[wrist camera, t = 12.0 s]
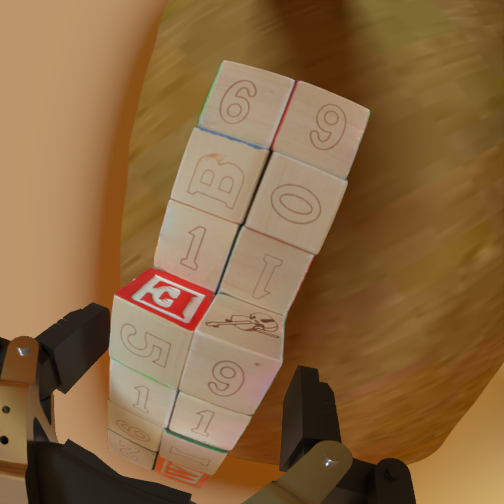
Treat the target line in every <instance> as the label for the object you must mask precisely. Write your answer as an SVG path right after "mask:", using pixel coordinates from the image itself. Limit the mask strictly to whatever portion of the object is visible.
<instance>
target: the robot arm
mask: <svg viewBox="0 0 504 504" xmlns="http://www.w3.org/2000/svg"><path fill="white" fill-rule="evenodd" d="M110 332H111V331H110V312H109V309H108V308H106V307H103V306H101V305H99V304H96V303H91V304H89V305H88V306H86V307H85V308H84V309H79V310H76V311H73V312H70V313H69V314H67V315H66V316H64V317H63V319H60V320H59V321H58V322H57V323H56V324H53V325H52V326H51V327H49V328H48V329H47V330H45V331H44V332H43V333H41V334H40V335H38V336H37V337H36V338H32V337H29V336H20V337H17V338H15V339H13V340H12V341H9V340H7V339H4V338H1V337H0V504H196V503H194V502H192V501H190V500H191V495H192V494H190V493H186V492H183V491H180V490H177V489H174V488H171V487H168V486H165V485H162V484H159V483H155V482H149V481H144V480H139V479H133V478H128V477H125V476H122V475H120V474H118V473H117V472H116V471H114V470H113V469H111V468H110V467H109V466H108V465H107V464H105V463H104V462H103V461H102V460H101V459H99V458H98V457H97V456H96V455H95V454H93V453H91V452H90V451H88V450H86V449H84V448H83V447H81V446H79V445H78V444H76V443H74V442H73V441H71V440H69V439H68V440H67V441H66V443H65V444H60V443H58V440H57V436H56V432H55V419H54V395H53V391H54V390H55V389H58V390H59V391H61V392H62V393H64V394H66V393H67V392H68V391H69V390H70V389H71V388H72V386H73V385H74V384H75V383H76V382H77V381H78V380H79V379H80V378H81V377H82V376H83V375H84V374H85V372H86V371H87V370H88V369H89V368H90V367H91V366H92V365H93V364H94V363H95V362H96V361H97V360H98V358H100V357H101V356H102V354H104V353H105V351H106V350H107V348H108V347H109V343H110ZM336 411H337V410H336V405H335V398H334V392H333V391H332V389H331V388H330V387H329V385H328V384H327V383H323V382H319V374H318V369H316V368H310V367H305V366H298V367H297V369H296V371H295V374H294V376H293V378H292V381H291V383H290V385H289V388H288V390H287V392H286V395H285V399H284V404H283V421H282V439H281V454H280V469H279V470H280V471H284V472H286V473H284V474H283V475H282V476H281V477H280V478H278V479H277V480H276V481H272V482H271V483H269V484H267V485H266V486H265V487H263V488H262V489H261V490H260V491H258V492H257V493H255V494H254V495H253V496H251V497H250V498H249V499H247V500H246V501H244V502H243V503H241V504H416V500H415V495H414V490H413V484H412V480H411V475H410V471H409V469H408V467H407V466H406V465H405V464H404V463H403V462H402V461H400V460H398V459H394V458H386V459H383V460H381V461H380V462H379V463H378V464H377V465H375V464H371V463H367V462H364V461H360V460H357V459H355V458H353V457H352V454H351V452H350V450H349V449H348V448H347V447H346V446H344V445H343V444H342V443H341V436H340V429H339V423H338V416H337V413H336Z"/></svg>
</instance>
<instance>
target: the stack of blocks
mask: <svg viewBox="0 0 504 504" xmlns="http://www.w3.org/2000/svg"><path fill="white" fill-rule="evenodd" d="M370 114H371V110H369V109H367V108H365V107H363V106H361V105H359V104H357V103H355V102H352V101H350V100H348V99H346V98H343V97H341V96H339V95H336V94H334V93H331V92H329V91H327V90H324V89H322V88H320V87H317V86H314V85H312V84H309V83H306V82H304V81H295V80H293V79H291V78H288V77H285V76H282V75H279V74H276V73H273V72H270V71H266V70H263V69H259V68H254V67H251V66H248V65H244V64H239V63H235V62H231V61H226V60H224V61H223V62H222V64H221V65H220V67H219V69H218V72H217V74H216V76H215V79H214V81H213V83H212V86H211V88H210V91H209V93H208V95H207V98H206V100H205V102H204V105H203V108H202V110H201V113H200V116H199V119H198V125H197V126H196V127H195V128H194V129H193V131H192V133H191V136H190V139H189V141H188V144H187V147H186V150H185V153H184V155H183V158H182V161H181V164H180V168H179V171H178V174H177V177H176V180H175V183H174V186H173V189H172V193H171V199H170V201H169V202H168V205H167V207H166V212H165V215H164V218H163V222H162V226H161V230H160V234H159V238H158V242H157V247H156V251H155V255H154V267H153V268H150V269H148V270H146V271H144V272H143V273H142V274H141V275H139V276H138V277H137V278H135V279H134V280H132V281H131V282H130V283H128V284H127V285H126V286H124V287H123V288H121V289H120V290H119V291H118V292H117V293H115V295H114V301H113V310H112V319H111V332H110V343H109V355H110V357H111V358H110V366H109V397H108V406H107V409H108V429H107V433H108V434H107V435H108V449H109V450H111V451H112V452H114V453H116V454H118V455H120V456H121V457H123V458H125V459H127V460H129V461H131V462H133V463H135V464H137V465H139V466H141V467H143V468H145V469H147V470H150V471H151V470H154V472H156V473H158V474H160V475H162V476H165V477H167V478H170V479H172V480H175V481H178V482H181V483H184V484H187V485H190V486H193V487H196V488H202V487H203V486H204V484H205V483H206V482H207V480H208V479H209V478H210V476H211V475H213V474H214V473H215V472H216V470H217V469H218V467H219V466H220V465H221V463H222V462H223V460H224V459H225V457H226V456H227V453H228V450H232V449H233V448H234V446H235V445H236V444H237V442H238V440H239V439H240V437H241V436H242V434H243V432H244V431H245V429H246V428H247V426H248V425H249V423H250V421H251V418H252V415H253V414H254V413H255V412H256V410H257V408H258V407H259V405H260V403H261V402H262V400H263V398H264V396H265V395H266V393H267V391H268V390H269V388H270V386H271V384H272V383H273V381H274V379H275V377H276V375H277V373H278V372H279V370H280V368H281V367H282V365H283V353H284V335H285V318H286V316H287V315H288V313H289V310H290V308H291V306H292V304H293V302H294V300H295V298H296V296H297V294H298V292H299V290H300V288H301V285H302V283H303V281H304V279H305V277H306V275H307V273H308V271H309V268H310V266H311V264H312V262H313V259H314V257H315V255H317V254H318V253H319V252H320V249H321V247H322V245H323V243H324V241H325V238H326V236H327V234H328V232H329V230H330V227H331V225H332V223H333V220H334V218H335V216H336V213H337V211H338V208H339V206H340V203H341V201H342V198H343V196H344V193H345V190H346V188H347V185H348V181H347V176H348V174H349V171H350V169H351V167H352V164H353V161H354V159H355V156H356V153H357V151H358V148H359V145H360V143H361V140H362V137H363V134H364V131H365V129H366V126H367V123H368V120H369V117H370Z"/></svg>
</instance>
